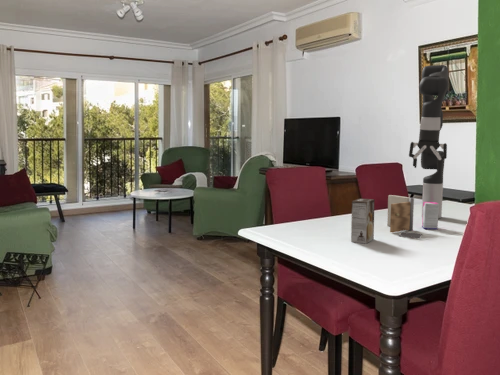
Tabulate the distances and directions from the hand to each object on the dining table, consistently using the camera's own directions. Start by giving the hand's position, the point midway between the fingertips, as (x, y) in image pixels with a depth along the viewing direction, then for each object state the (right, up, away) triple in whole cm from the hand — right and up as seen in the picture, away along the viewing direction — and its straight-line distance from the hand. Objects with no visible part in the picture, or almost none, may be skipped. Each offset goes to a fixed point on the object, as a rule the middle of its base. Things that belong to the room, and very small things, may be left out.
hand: (426, 168), depth 186 cm
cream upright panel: (-5, -26, +16) cm, 31 cm away
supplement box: (+7, -26, +15) cm, 31 cm away
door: (-8, -26, +7) cm, 28 cm away
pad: (-6, -28, +1) cm, 28 cm away
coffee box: (-28, -29, -8) cm, 41 cm away
